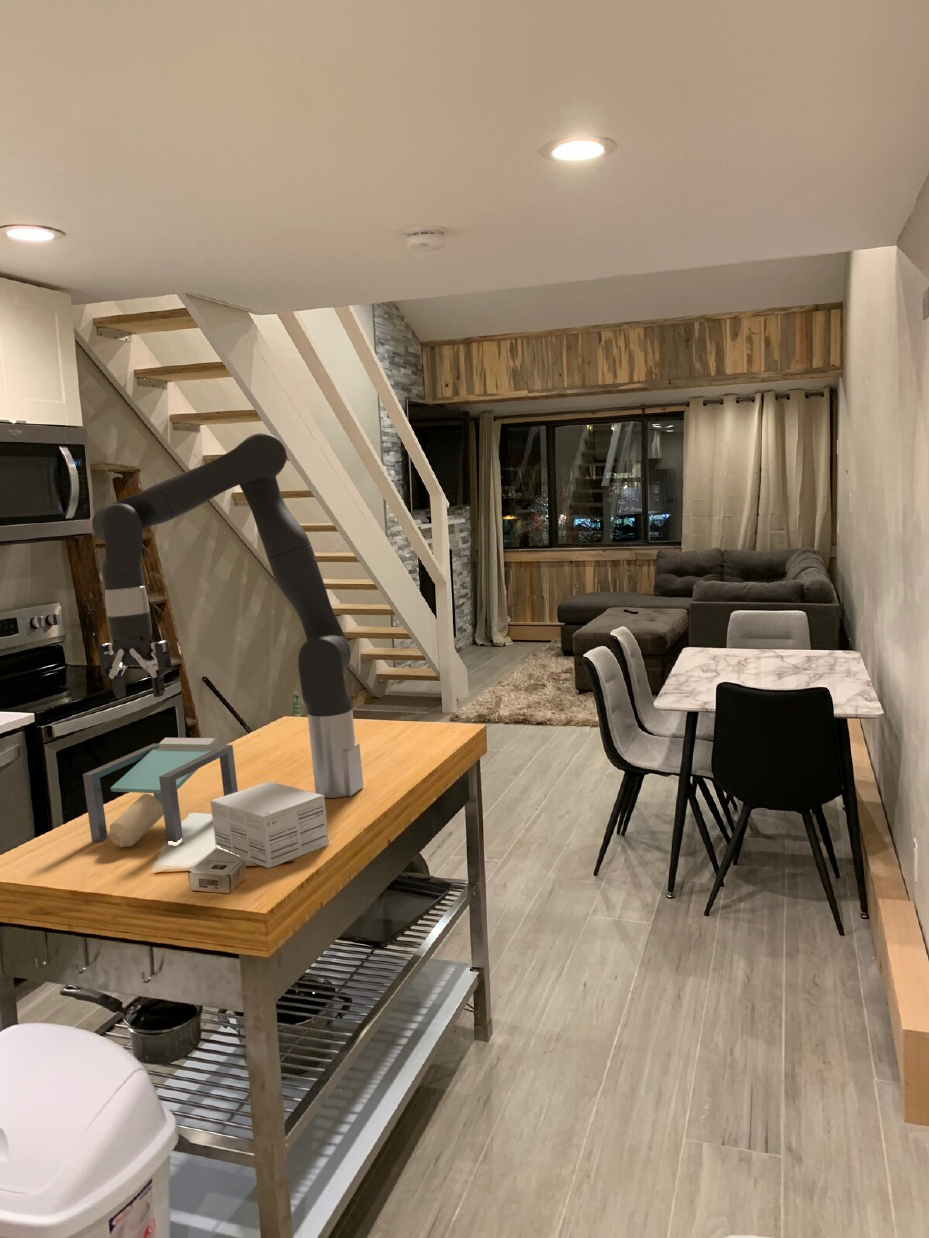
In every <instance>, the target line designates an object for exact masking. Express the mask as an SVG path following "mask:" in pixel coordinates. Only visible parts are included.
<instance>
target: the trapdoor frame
mask: <svg viewBox="0 0 929 1238" xmlns="http://www.w3.org/2000/svg"><path fill="white" fill-rule="evenodd" d="M233 746H234V745H233V744H222V745H220V746H218V748H216V749H214V750H212V751H210V752H208V753H206V754H204V755H202V756H200V757H198V758H196V759H194V760H192V761H190V762H188V763H186V764H184V765H182V766H180V767H178V768H176V769H174V770H172V771H170V772H168V773H166V774H164V775H162V776H160V777H159V781H160V789H161V793H153V796H154V797H155V798H156V799H158V800H159V801H160V803H161V804H162V806H163V813H164V815H163V819H164V826H165V827H164V828H165V836H166V843H167V842H168V841H173V842H177V841H178V840H180V839H181V838H183V839H184V836H183V835H184V834H183V828H182V827H183V826H182V819H181V813H180V812H181V811H180V804H179V803H180V802H179V795H178V790H177V785H176V780H177V779H179V778H181V777H183V776H185V775H187V774H189V773H191V772H193V771H194V770H196V769H198V768H199V769H200V768H202V767H204V766H206V765H208V764H210V763H212V762H214V761H216V760H218V759H219V764H220V773H221V782H222V791H223V796H226V795H229V794H232V793H235V792H239V790H238V789H239V788H238V782H237V781H238V780H237V773H236V764H235V763H236V762H235V755H234V747H233ZM159 748H160V746H159V743H154V742H153V743H152V744H150V745H147V746H145V747H143V748H140V749H138V750H136V751H135V750H134V752H131V753H129V754H127V755H124V756H122V757H120V758H118V759H115V760H112V761H110V762H108V763H106V764H103V765H101V766H99V767H97V768H95V769H92V770H90V771H87V772H85V773H83V774H82V778H83V779H82V780H83V786H84V793H85V800H86V808H87V814H88V821H89V822H88V823H89V830H90V831H89V832H90V837H91V842H92V843H93V842H97V843H101V842H103V841H105V840H107V839H108V831H107V829H108V828H107V823H106V822H107V821H106V815H105V809H104V807H105V806H104V799H103V791H102V785H101V778H102V777H104V776H106V775H108V774H111V773H113V772H115V771H118V770H120V769H122V768H125V767H127V766H129V765H130V764H133V763H135V762H137V761H141V760H142V759H143V758H144V757H145V756H146V755H147V754H149V753H150V752H151V751H152V750H158V749H159ZM199 769H198V770H199Z"/></svg>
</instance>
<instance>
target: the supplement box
mask: <svg viewBox="0 0 929 1238" xmlns="http://www.w3.org/2000/svg"><path fill="white" fill-rule="evenodd" d="M325 799H326V798H324V795H321V794H317V793H316V792H311V791H309V790H304V789H300V788H297V787H292V786H289V785H284V784H281V783H278V782H273V781H267V782H264V783H260V784H257V785H255V786H251V787H249V788H245V789H243V790H240V791H239V790H238V792H235V793H232V794H229V795H226V796H224V795H223V796H221V797H218V798H215V799H212V800H210V810H211V817H212V826H213V832H214V842H215V846H216V845H218V846H220V847H221V848H223V849H226V850H228V851H229V852H232V853H234V854H236V855H239V856H240V857H242V858H244V859H243V860H245V859H246V860H245V861H248V862H251V863H254V864H257V865H259V866H262V867H265V868H267V869H271V868H274V867H275V866H278V865H282V864H283V863H286V862H289V861H291V860H293V859H296V858H299V857H301V856H304V855H306V854H309V853H311V852H314V851H316V850H319V849H322V848H324V847H327V846H329V845H330V842H329V841H330V840H329V830H328V819H327V811H326V801H325ZM240 857H239V858H240ZM242 858H241V859H242Z"/></svg>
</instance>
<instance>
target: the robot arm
mask: <svg viewBox="0 0 929 1238" xmlns="http://www.w3.org/2000/svg"><path fill="white" fill-rule="evenodd" d="M287 458H288V457H287V449H286V447H285V445H284V444H283V442H282V441H281V439H279V438H278V437H277V436H275V435H273V434H270V433H267V432H265V433H264V432H260V433H255V434H251V435H250V436H249V437H247V438H245V439H244V440H243V441H241V442H240V443H239V444H238V445H237V446H236V447H234V448H233V449H231V450H230V451H227V452H226V453H225V454H222V455H221V456H220V457H217V458H216V459H213V460H211V461H209V462H207V463H205V464H203V465H200V466H198V467H194V468H192V469H189V470H187V471H185V472H182V473H181V474H177V475H176V476H172V477H171V478H168V479H165V480H163V481H161V482H159V483H156V484H154V485H152V486H150V487H148V488H146V489H145V490H142V491H141V492H139V493H136V494H134V495H130V496H128V497H124V498H122V499H118V500H117V501H114V502H111V503H109V504H107V505H105V506H102V507H100V508H99V509H97V511H96V512H95V513H94V515H93V517H92V521H91V528H92V530H93V533H94V534H95V535H96V537H98V539H101V540H102V541H104V547H105V559H104V560H103V561H102V578H103V583H104V589H105V590H104V592H105V593H104V595H105V599H104V601H105V609H106V618H107V624H108V631H109V637H110V639H112V642H106V643H101V644H99V645H98V654H99V655H98V657H99V658H98V659H99V669H100V675H101V676H103V677H104V676H107V677H109V679H111V685H112V692H113V694H114V695H115V698H116V699H121V698H124V697H126V696H127V689H126V683H125V677H124V676H123V674H124V672H125V670H126V669H127V668H128V667H130V666H134V667H139V666H141V667H142V669H144V670H146V671H147V672H148V673H149V675H150V676H151V678H150V679H151V685H152V686H151V687H152V694H153V695H152V696H153V698H161V697H162V696H164V694H165V692H166V687H165V679H164V675H166V674H167V673H169V672H172V671H173V666H172V664H173V663H172V660H171V653H170V649H169V643H168V641H167V640H165V639H164V640H160V641H156V642H154V640H153V639H152V634H153V627H152V625H153V624H152V618H151V612H150V611H151V610H150V604H149V598H148V593H147V590H146V585H145V575H144V570H143V564H142V559H143V558H142V556H143V542H144V541H143V538H144V537H143V530H145V529H147V528H149V527H152V526H156V525H160V524H164V523H166V522H169V521H171V520H173V519H175V518H177V517H180V516H182V515H185V514H187V512H190V511H192V510H195V509H196V508H198V507H199V506H201V505H203V504H205V503H206V502H208V501H210V500H212V499H213V498H215V497H217V496H218V495H221V494H223V493H224V492H226V491H228V490H230V489H233V488H235V487H237V486H239V487H240V489H241V491H242V493H243V496H244V498H245V500H246V502H247V504H248V506H249V508H250V511H251V513H252V516H253V519H254V522H255V525H256V528H257V531H258V534H259V536H260V540H261V542H262V545H263V548H264V551H265V552H264V553H265V555H266V558H267V561H268V563H269V567H270V569H271V573H272V574H273V577H274V580H275V582H276V584H277V585H278V587H279V588H280V590H281V592H282V593H283V595H285V597H286V598H287V600H288V602H289V604H291V605H292V607H293V608H294V610H295V611H296V613H297V616H298V617H299V619H300V621H301V625H302V628H303V632H304V634H305V638H306V641H305V642H304V643H303V644H302V646H301V647H300V650H299V652H298V657H297V658H298V659H297V660H298V661H297V665H298V673H299V674H298V675H299V681H300V688H301V695H302V696H301V697H302V700H303V702H304V704H305V706H306V713H307V720H308V721H307V723H308V732H309V742H310V743H309V744H310V751H311V761H312V763H311V764H312V771H313V772H312V773H313V781H314V791H315V792H314V793H317V794H321V795H324V799H331V798H332V799H333V798H334V799H335V798H343V797H352V796H353V795H355V794H356V793H357V792H360V790H361V789H362V788H363V789H364V778H363V767H362V756H361V746H360V743H357V742H356V736H355V735H356V734H355V726H354V725H355V724H354V715H353V713H354V712H353V703H352V701H353V700H352V697H351V695H350V694H349V693H348V692H347V689H346V683H345V675H344V674H345V673H344V671H345V670H346V668H348V667H349V664H350V662H351V658H352V657H351V656H352V651H351V646H350V644H349V641H348V639H347V637H346V635H345V633H344V631H343V628H342V627H341V625H340V623H339V619H338V618H337V616H336V614H335V612H334V609H333V607H332V604H331V602H330V598H329V594H328V591H327V588H326V586H325V582H324V579H323V577H322V574H321V570H320V567H319V564H318V562H317V561H318V560H317V557H316V555H315V552H314V548H313V546H312V543H311V541H310V539H309V536H308V535H307V533H306V531H305V530H304V528H303V527H302V526H301V524H300V522H299V521H298V520H297V519H296V518H295V516H294V515H293V514H292V513H291V511H290V509H289V508H288V507H287V505H286V503H285V500H284V499H283V495H282V493H281V490H280V485H279V483H278V480H277V476H278V475H279V474H280V473H281V472H282V470H283V469H284V467H285V465H286V463H287ZM154 653H155V655H154ZM114 654H115V656H116V657H115V658H114Z"/></svg>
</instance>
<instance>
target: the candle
mask: <svg viewBox="0 0 929 1238" xmlns="http://www.w3.org/2000/svg"><path fill="white" fill-rule="evenodd" d="M163 817H164V813H163V806H162V804H161V803H160V801H159V800H158V799H156V798H155V797H154V795H153V794H152V795H151V794H150V793H143V795H141V796H140V797H138V799H137V800H135V801H134V802H133V803H132V804H131V805H130V806H129V807H128V808H126V810H125V811H123V812H122V814H121V815H119V816H118V817H117V818H116V819H115V820H114V821H113V822H112V823H111V824H110V825H109V840H110V841H111V842H112V843H113V844H114V845H115V846H116V845H117V846H119V847H120V848H124V847H125V848H126V847H127V848H128V847H133V846H134V845H135V844H136V843H137V842H138V841H139V840H140V839H141V838H142V837H143V836H144V835H145V834H146V833H148V831H149V830H150V829H151V828H152V827H154V825H156V823H158V822H159V820H161V818H163Z"/></svg>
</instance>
